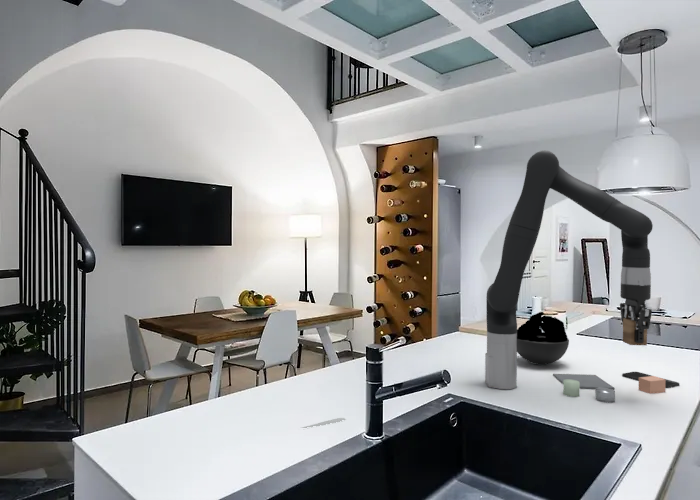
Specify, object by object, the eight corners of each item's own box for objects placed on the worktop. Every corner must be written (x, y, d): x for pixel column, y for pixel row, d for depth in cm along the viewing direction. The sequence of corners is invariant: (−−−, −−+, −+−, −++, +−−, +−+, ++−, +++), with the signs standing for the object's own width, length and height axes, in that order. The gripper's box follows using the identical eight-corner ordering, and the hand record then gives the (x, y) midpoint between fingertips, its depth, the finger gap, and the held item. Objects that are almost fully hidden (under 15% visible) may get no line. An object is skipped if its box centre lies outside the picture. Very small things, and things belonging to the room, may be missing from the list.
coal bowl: (552, 374, 161) (552, 320, 161) (500, 362, 176) (501, 313, 176) (578, 364, 174) (579, 314, 173) (528, 354, 189) (529, 308, 189)
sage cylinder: (566, 396, 138) (566, 383, 138) (561, 392, 143) (561, 379, 143) (581, 397, 138) (581, 383, 138) (576, 392, 142) (576, 379, 142)
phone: (635, 371, 163) (681, 383, 149) (635, 374, 163) (681, 386, 149) (620, 374, 159) (665, 386, 146) (620, 377, 159) (665, 390, 146)
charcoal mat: (567, 388, 146) (567, 386, 146) (552, 375, 160) (552, 373, 160) (614, 389, 145) (614, 387, 145) (595, 376, 159) (595, 374, 159)
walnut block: (630, 345, 134) (630, 320, 134) (622, 341, 139) (623, 318, 139) (646, 345, 134) (647, 321, 134) (638, 342, 138) (639, 318, 138)
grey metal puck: (599, 403, 133) (599, 392, 133) (592, 397, 138) (592, 387, 138) (618, 403, 133) (618, 393, 133) (610, 397, 138) (610, 387, 138)
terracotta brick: (650, 394, 141) (650, 381, 141) (638, 390, 145) (638, 377, 145) (665, 392, 143) (665, 379, 143) (653, 388, 146) (653, 375, 146)
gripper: (610, 280, 143) (610, 335, 144) (634, 284, 129) (633, 346, 130) (636, 280, 143) (635, 336, 143) (663, 285, 128) (661, 346, 129)
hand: (634, 340), depth 136 cm, fingers closed on walnut block, 4 cm apart
